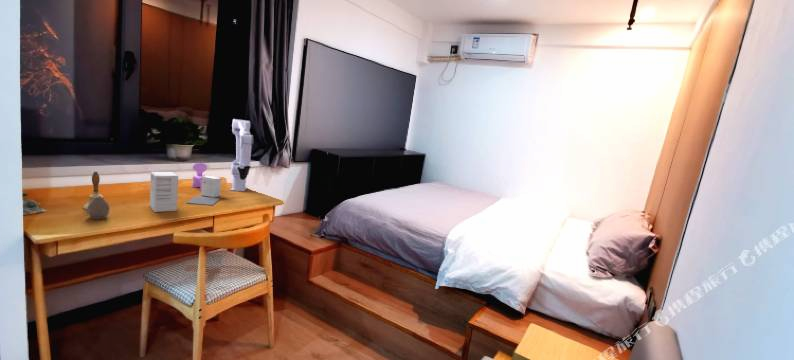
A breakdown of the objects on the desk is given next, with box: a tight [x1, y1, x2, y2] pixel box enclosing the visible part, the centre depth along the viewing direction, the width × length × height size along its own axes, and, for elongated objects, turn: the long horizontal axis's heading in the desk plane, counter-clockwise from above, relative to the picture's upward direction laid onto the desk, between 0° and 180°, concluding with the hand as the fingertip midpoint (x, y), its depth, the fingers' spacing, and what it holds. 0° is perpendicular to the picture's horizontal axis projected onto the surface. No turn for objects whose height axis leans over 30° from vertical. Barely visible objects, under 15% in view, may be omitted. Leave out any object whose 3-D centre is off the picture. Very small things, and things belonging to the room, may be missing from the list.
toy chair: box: [190, 162, 208, 191], centre depth 205 cm, size 8×9×15 cm
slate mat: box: [186, 195, 221, 206], centre depth 184 cm, size 14×12×1 cm
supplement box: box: [149, 171, 179, 213], centre depth 162 cm, size 10×9×17 cm
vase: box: [86, 196, 111, 220], centre depth 141 cm, size 7×7×9 cm
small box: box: [200, 175, 223, 198], centre depth 194 cm, size 8×6×10 cm
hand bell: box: [82, 171, 104, 210], centre depth 151 cm, size 8×8×16 cm
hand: (243, 178), depth 202 cm, fingers open, 4 cm apart
